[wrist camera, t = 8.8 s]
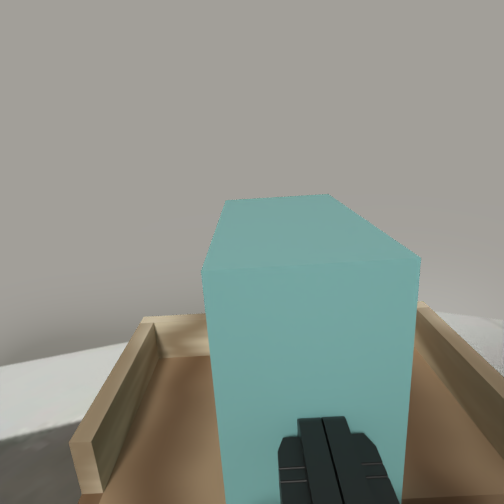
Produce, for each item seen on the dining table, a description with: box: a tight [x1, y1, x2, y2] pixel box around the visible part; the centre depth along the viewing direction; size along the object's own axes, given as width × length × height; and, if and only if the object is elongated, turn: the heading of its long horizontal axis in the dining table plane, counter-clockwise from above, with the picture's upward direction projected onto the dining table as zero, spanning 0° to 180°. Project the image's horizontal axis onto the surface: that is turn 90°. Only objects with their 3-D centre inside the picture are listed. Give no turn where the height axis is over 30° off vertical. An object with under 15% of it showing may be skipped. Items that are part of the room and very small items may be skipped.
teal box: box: [201, 194, 421, 504], centre depth 18 cm, size 6×12×12 cm, turn 1°
